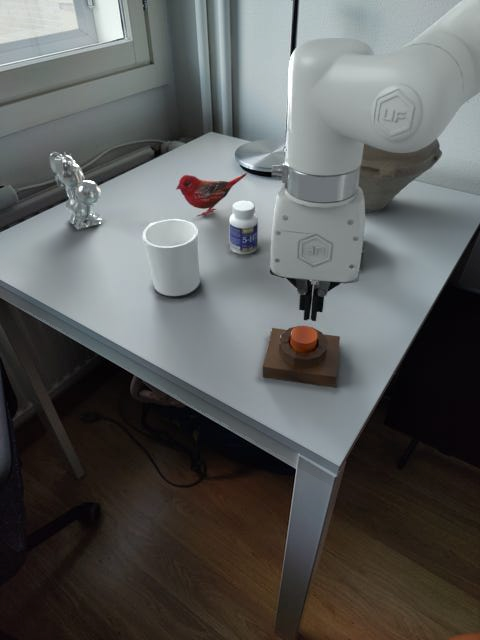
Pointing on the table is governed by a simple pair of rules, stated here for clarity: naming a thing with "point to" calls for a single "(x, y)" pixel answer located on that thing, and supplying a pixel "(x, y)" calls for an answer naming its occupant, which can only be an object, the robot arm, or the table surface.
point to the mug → (173, 257)
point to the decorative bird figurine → (205, 191)
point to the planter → (392, 172)
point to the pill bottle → (243, 228)
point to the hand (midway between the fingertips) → (310, 313)
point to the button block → (302, 359)
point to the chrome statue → (76, 190)
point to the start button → (303, 339)
